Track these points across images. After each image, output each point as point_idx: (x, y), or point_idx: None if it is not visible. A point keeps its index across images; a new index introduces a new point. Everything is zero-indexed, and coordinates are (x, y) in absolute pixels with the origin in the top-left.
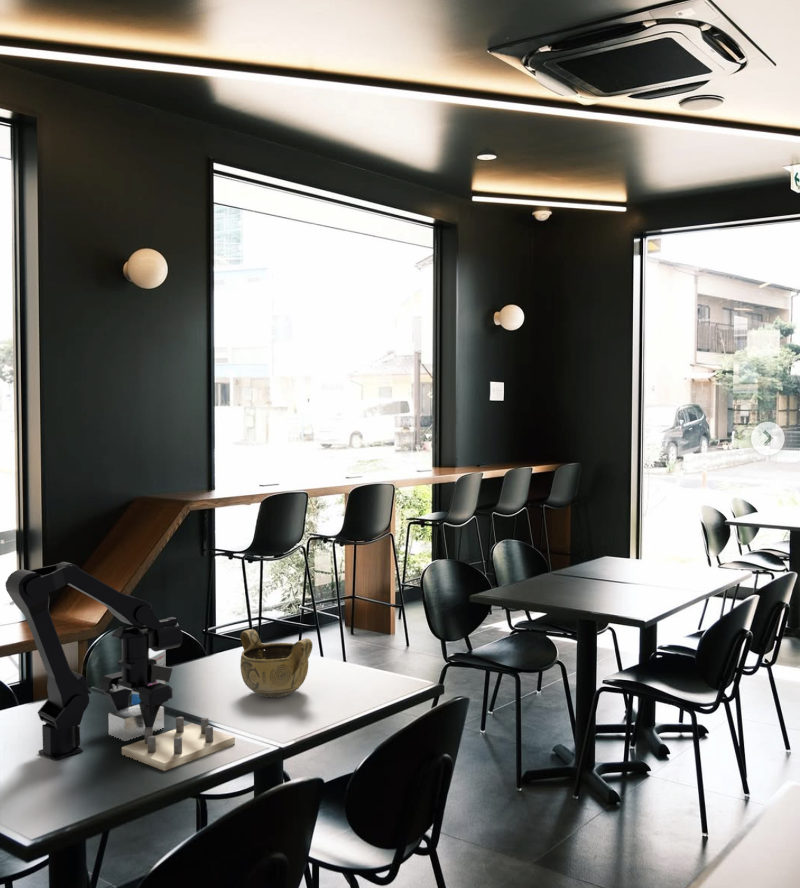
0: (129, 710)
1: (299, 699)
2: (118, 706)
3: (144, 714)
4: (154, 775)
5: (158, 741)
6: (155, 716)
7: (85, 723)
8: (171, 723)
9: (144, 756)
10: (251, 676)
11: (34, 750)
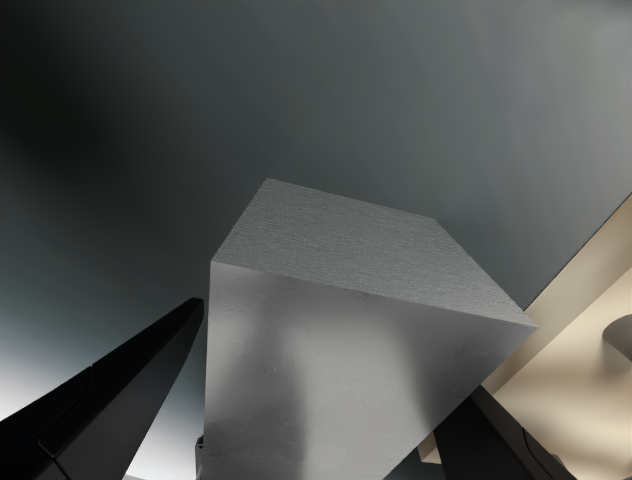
0: (274, 443)
1: None
2: (135, 440)
3: None
4: None
5: (538, 415)
6: (511, 423)
7: (6, 309)
8: (439, 115)
9: None
10: None
11: (169, 461)
